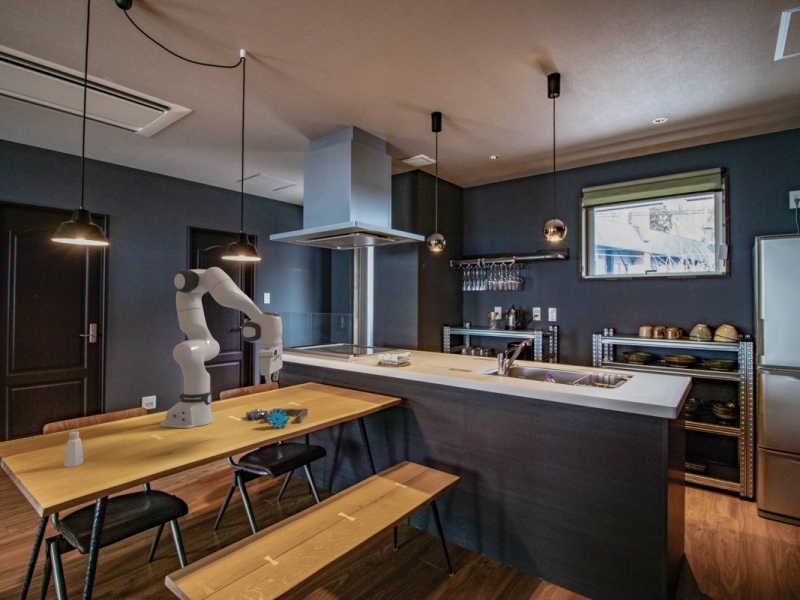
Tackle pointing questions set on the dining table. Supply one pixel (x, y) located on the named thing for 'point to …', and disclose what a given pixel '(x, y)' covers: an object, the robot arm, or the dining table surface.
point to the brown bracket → (299, 412)
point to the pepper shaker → (74, 451)
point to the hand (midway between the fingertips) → (272, 382)
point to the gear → (277, 418)
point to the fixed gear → (256, 414)
